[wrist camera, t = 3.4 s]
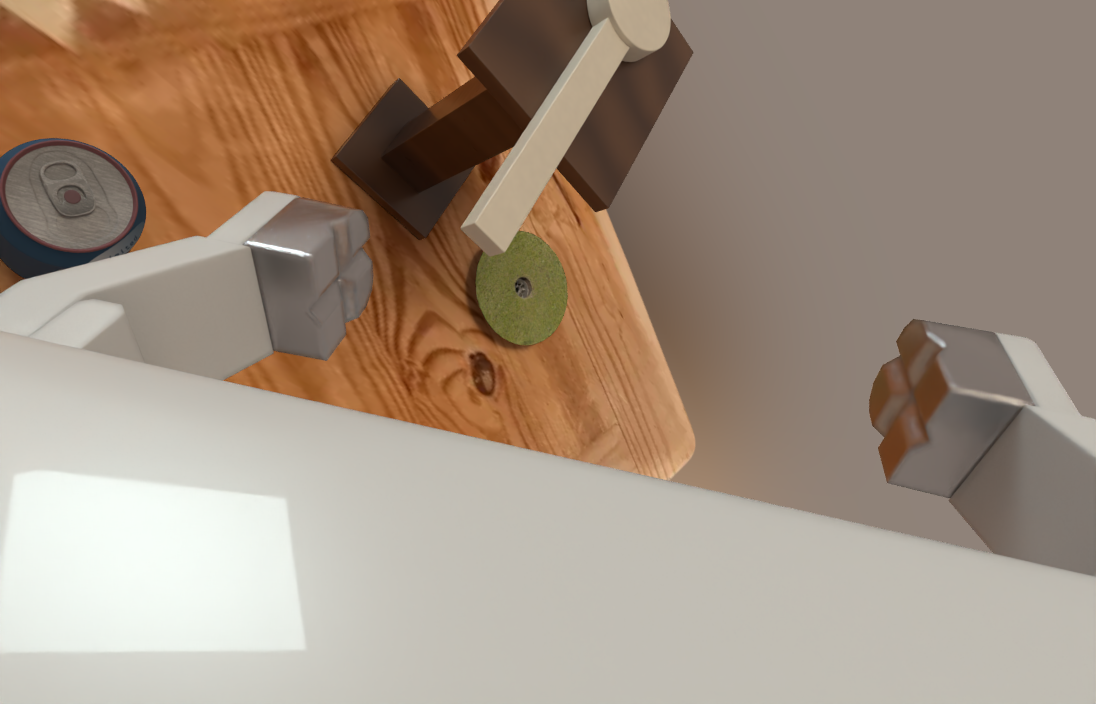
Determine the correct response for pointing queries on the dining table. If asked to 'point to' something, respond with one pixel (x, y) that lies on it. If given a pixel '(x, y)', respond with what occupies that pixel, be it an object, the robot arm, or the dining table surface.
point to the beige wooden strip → (565, 115)
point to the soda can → (65, 207)
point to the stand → (508, 114)
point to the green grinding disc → (522, 290)
